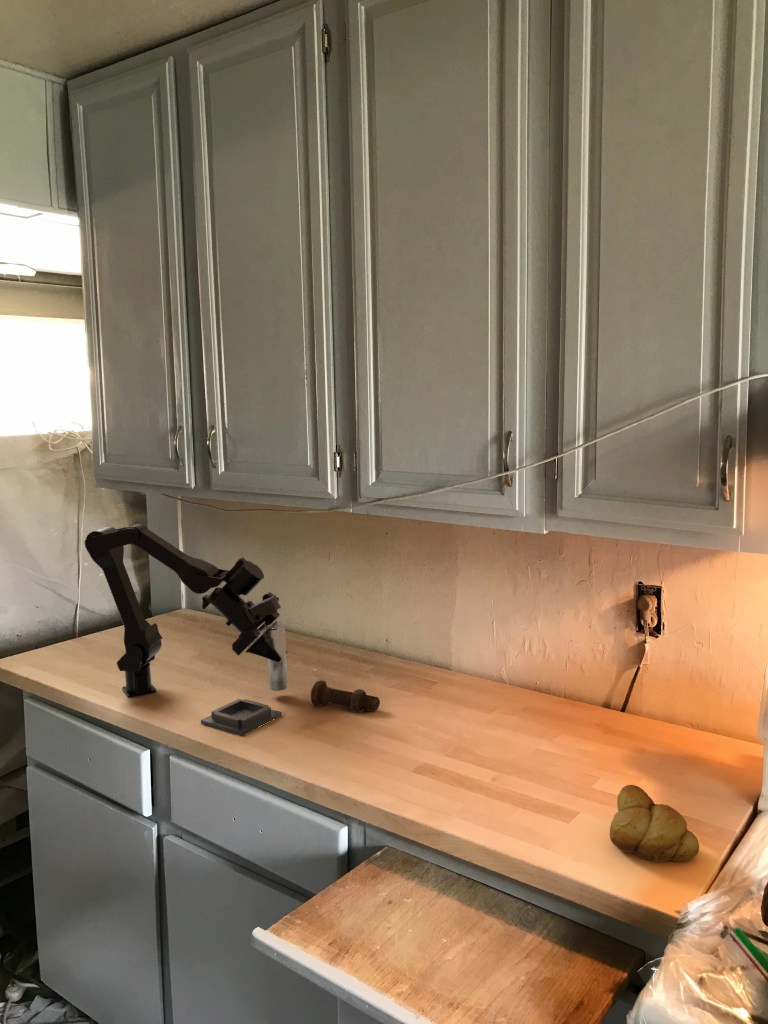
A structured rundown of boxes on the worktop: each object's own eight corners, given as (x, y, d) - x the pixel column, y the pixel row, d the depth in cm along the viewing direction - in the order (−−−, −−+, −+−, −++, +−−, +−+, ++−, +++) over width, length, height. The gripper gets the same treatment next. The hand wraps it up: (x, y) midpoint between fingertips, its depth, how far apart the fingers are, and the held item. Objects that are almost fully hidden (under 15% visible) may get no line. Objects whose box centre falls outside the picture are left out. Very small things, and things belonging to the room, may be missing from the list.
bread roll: (707, 851, 123) (709, 801, 122) (682, 882, 116) (684, 829, 115) (625, 823, 132) (626, 776, 131) (597, 850, 125) (597, 800, 123)
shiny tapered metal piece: (266, 686, 190) (264, 627, 188) (283, 683, 192) (280, 624, 190) (273, 691, 187) (271, 631, 184) (290, 688, 189) (287, 628, 186)
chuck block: (200, 723, 175) (200, 713, 175) (241, 704, 185) (240, 694, 185) (242, 735, 169) (241, 725, 168) (282, 715, 178) (281, 705, 178)
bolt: (375, 722, 178) (314, 710, 185) (384, 704, 182) (324, 692, 188) (370, 704, 175) (307, 693, 181) (379, 686, 178) (317, 675, 185)
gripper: (243, 595, 177) (295, 647, 177) (269, 575, 195) (317, 622, 195) (210, 629, 180) (261, 681, 180) (239, 606, 198) (285, 653, 198)
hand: (283, 657), depth 188 cm, fingers closed on shiny tapered metal piece, 4 cm apart
